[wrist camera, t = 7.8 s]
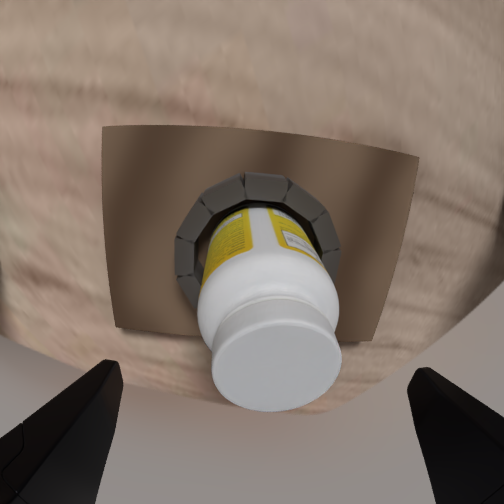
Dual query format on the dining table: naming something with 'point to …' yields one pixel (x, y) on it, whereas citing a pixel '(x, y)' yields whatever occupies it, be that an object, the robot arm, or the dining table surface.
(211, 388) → the dining table surface
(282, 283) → the supplement bottle
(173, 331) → the socket board
